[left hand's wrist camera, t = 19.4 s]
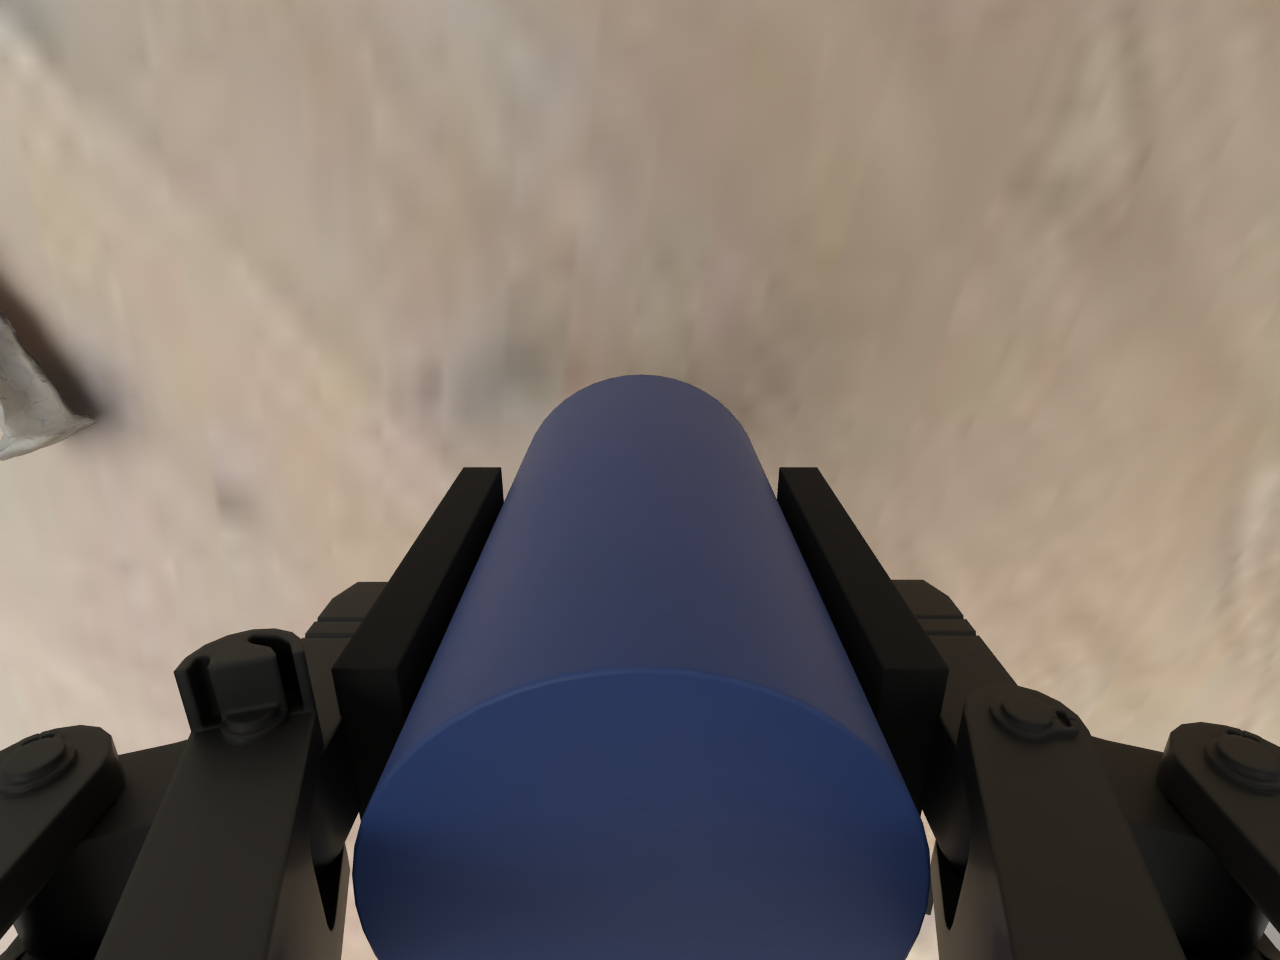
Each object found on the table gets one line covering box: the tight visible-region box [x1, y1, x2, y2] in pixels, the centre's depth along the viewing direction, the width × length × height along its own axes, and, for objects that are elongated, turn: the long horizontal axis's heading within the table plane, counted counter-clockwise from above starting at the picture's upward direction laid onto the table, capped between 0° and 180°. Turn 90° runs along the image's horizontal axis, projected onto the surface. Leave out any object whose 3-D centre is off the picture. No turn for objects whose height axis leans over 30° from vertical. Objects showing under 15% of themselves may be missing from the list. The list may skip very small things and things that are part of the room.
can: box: [352, 375, 931, 960], centre depth 12 cm, size 6×6×10 cm
